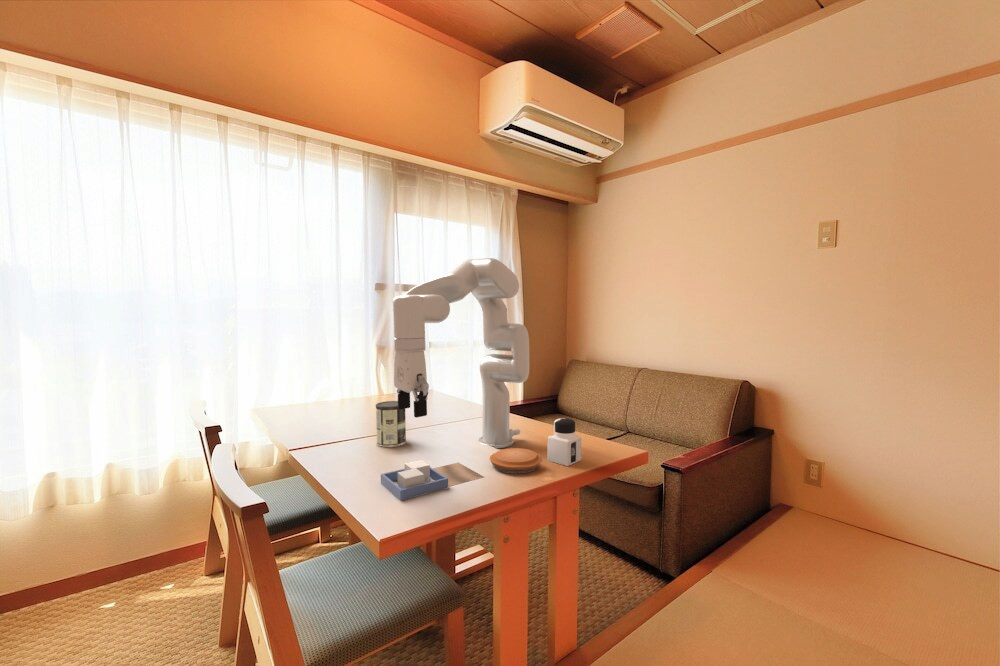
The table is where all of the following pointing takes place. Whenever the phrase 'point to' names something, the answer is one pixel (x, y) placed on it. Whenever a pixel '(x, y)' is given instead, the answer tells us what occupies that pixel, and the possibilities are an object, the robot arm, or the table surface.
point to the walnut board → (457, 473)
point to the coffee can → (390, 424)
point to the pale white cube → (410, 478)
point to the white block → (420, 468)
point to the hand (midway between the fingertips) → (412, 412)
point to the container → (564, 443)
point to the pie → (515, 460)
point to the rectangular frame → (413, 491)
